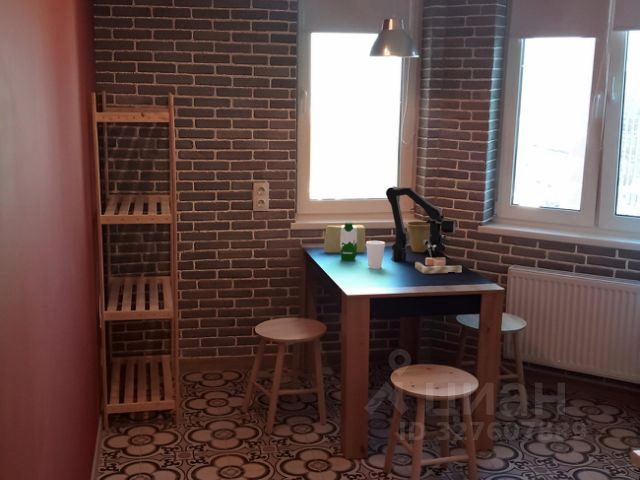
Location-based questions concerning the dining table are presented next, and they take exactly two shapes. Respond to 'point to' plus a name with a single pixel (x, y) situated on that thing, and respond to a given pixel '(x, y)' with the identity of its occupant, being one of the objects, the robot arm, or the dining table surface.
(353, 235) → the milk carton
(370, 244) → the foam cup
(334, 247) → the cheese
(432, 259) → the t block
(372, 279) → the dining table surface
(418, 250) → the plant pot
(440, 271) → the wooden l block
